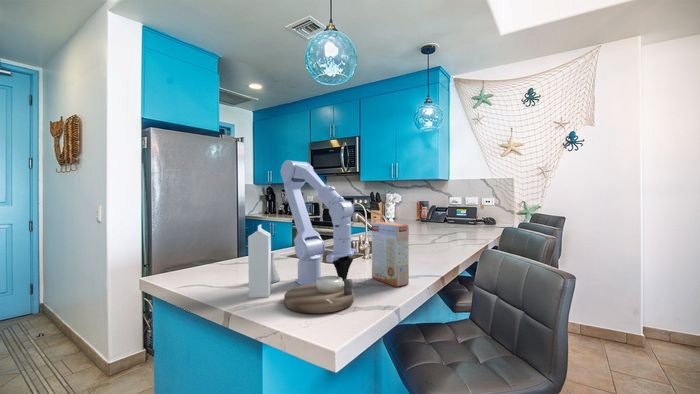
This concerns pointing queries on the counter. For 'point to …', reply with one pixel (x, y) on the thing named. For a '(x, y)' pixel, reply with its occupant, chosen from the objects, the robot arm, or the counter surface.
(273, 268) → the flask
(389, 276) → the cracker box
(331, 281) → the dish
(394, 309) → the counter surface
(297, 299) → the turntable
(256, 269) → the milk
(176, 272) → the counter surface
